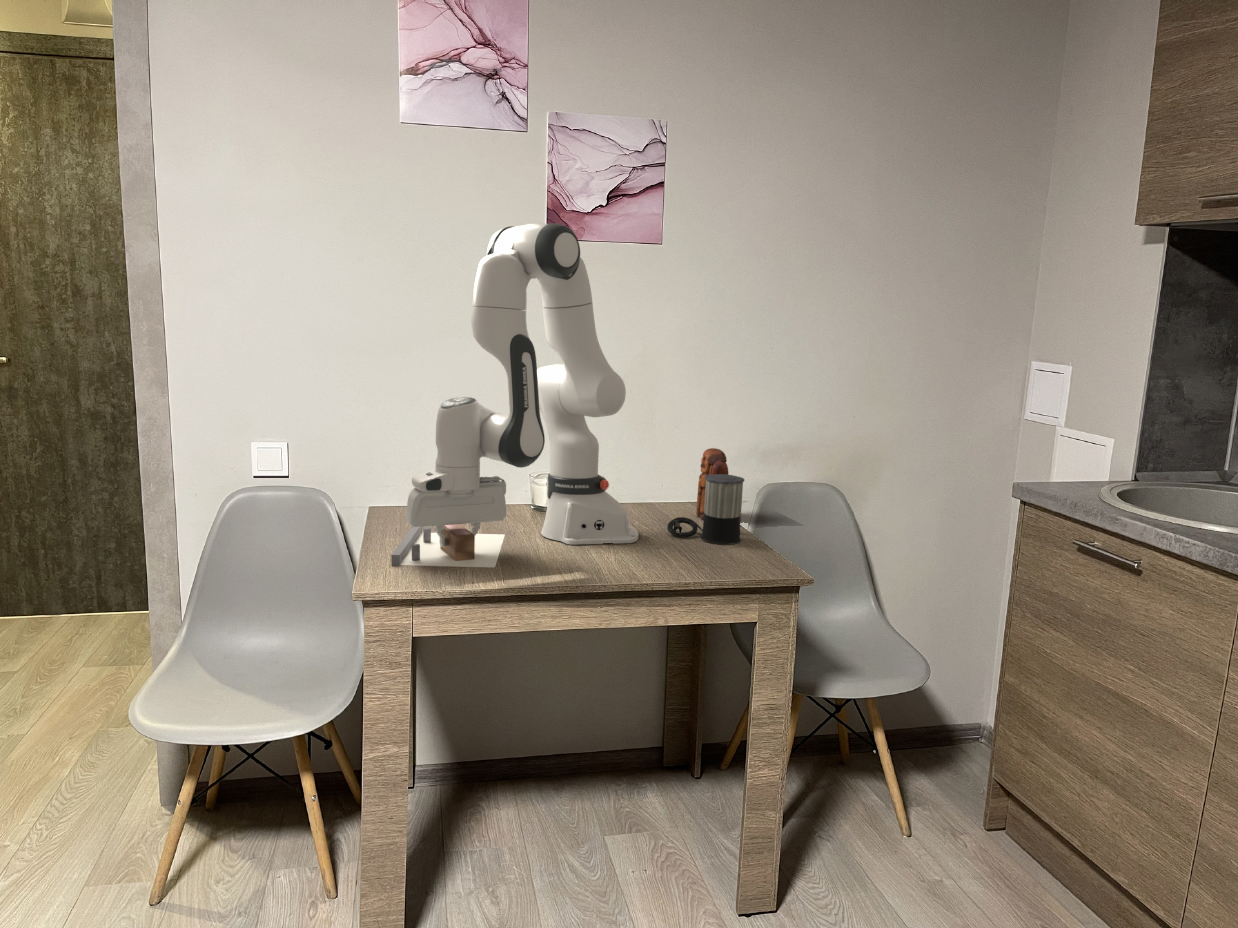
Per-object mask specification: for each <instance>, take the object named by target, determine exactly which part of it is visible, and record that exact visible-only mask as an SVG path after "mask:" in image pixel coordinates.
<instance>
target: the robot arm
mask: <svg viewBox="0 0 1238 928" xmlns="http://www.w3.org/2000/svg"><path fill="white" fill-rule="evenodd" d="M588 274H589V273H588V270H587V267H586V264H585V261H584V260H583V258H582V257H581V247H580V243H579V239H578V237H577V235H576V234H575V232H574V231H573V229H571V228H570V227H568V226H566V225H564V224H561V223H555V222H552V223H539V222H536V223H532V222H531V223H526V224H522V225H517V226H506V227H503V228H501V229H499V230H497V231H496V232H495V233H494V234H492V235H491V237H490V240H489V242H488V245H487V249H486V255H485V256H484V257H483V258H482V259H481V260H480V261H479V263H478V266H477V269H476V275H475V279H474V284H473V292H472V300H471V302H472V303H471V318H470V319H471V320H470V321H471V329H472V335H473V338H474V339H475V341H476V342H477V344H478V345H479V346H480V348H482V349H483V350H485V351H486V352H487V353H488V354H490V355H492V356H493V357H494V358H495V359H497V360H498V362H499V363H500V364H501V365H502V366H503V368H504V370H505V373H506V376H507V387H508V388H507V389H508V405H509V408H508V409H509V414H505V413H501V412H496V411H495V410H491V409H489V408H487V407H485V406H483V405H482V404H480V403H479V402H478V400H477V399H476V398H475V397H470V396H461V397H460V396H459V397H452V398H449V399H447V400H444V401H443V402H442V403H441V404H440V405H439V408H438V410H437V415H436V422H435V445H436V449H437V455H436V456H437V457H436V458H435V468H432V469H430V470H427V471H425V472H422V473H419V474H416V475H414V476H413V477H412V479H411V484H412V486H413V488H412V489H411V491H410V492H409V495H408V497H407V504H406V522H407V523H408V524H409V525H410V526H411V528H412V527H415V528H416V527H422V528H425V527H433V529H434V530H435V533H437V534H438V536H439V537H440V546H441V547H444V546H449V543H448V542H449V538H448V537H447V536H444V535H443V534H442V532H441V531H443V530H444V525H455V524H460V525H465V524H466V525H467V524H470V526H471V527H472V528H471V529H470V530H469V531H470V532H471V533H473V534H474V535H475V536H476V534H478V532H479V530H480V528H481V523H489V522H490V523H491V522H492V523H493V522H502V521H504V520H505V518H506V517H507V503H506V497H505V496H506V492H507V483H506V481H505V479H503V478H502V477H500V476H497V475H495V476H481V462H480V461H481V460H480V459H481V458H487V459H491V460H492V461H499V462H503V463H506V464H508V465H510V466H514V467H516V468H526V467H527V468H528V467H530V465H532V464H534V463H535V462H536V461H537V460H538V459H539V457H540V456H541V454H542V452H543V450H544V448H545V444H546V443H545V441H546V438H545V430H544V426H543V423H542V417H541V414H542V416H543V419H544V422H545V426H546V429H547V433H548V439H549V473H548V475H547V479H546V480H547V481H546V495H547V507H546V511H545V517H544V518H545V519H544V522H543V525H542V529H541V532H540V534H541V535H542V537H545V538H546V539H549V540H553V541H554V540H555V541H557V542H562V543H564V544H567V545H604V544H603V543H613V544H633V543H635V542H638V540H639V539H640V538H639V537H640V536H639V531H638V529H637V528H635V527H633V526H631V525H630V517H629V514H628V511H627V509H626V507H625V506H624V505H623V504H621V503H620V502H619V501H618V500H617V499H615V498H614V497H613V496H612V495H611V494H609V493H608V492H607V490H608V488H609V486H610V483H609V481H608V480H607V478H606V477H604V476H603V475H600V474H599V452H600V451H599V450H600V446H599V445H600V444H599V440H598V439H597V437H596V435H595V434H593V432H591V431H590V429H589V427H588V424H587V422H586V418H585V417H590V418H602V417H608V416H609V417H610V416H614V415H615V414H617V413H619V411H620V410H621V409H622V408H623V406H624V404H625V401H626V397H627V396H626V394H627V391H626V384H625V381H624V380H623V378H622V377H621V376H620V375H619V374H618V373H617V372H616V371H615V370H614V369H613V368H612V366H611V365H610V363H609V362H608V359H606V356H605V354H604V353H603V350H602V347H601V345H600V342H599V339H598V335H597V329H596V323H595V314H594V313H595V311H594V305H593V294H592V289H591V283H590V279H589V275H588ZM532 279H537V280H538V282H539V284H540V288H541V290H540V291H541V294H540V295H541V305H542V314H543V323H544V332H545V333H544V334H545V339H546V342H547V344H548V346H550V348H551V349H553V350H554V351H555V352H556V354H557V355H558V356H559V358H560V361H561V363H562V364H561V363H555V364H549V365H544V366H541V367H538V366H537V355H536V350H535V346H534V343H533V342H532V340H531V339H530V336H529V332H528V324H527V306H528V305H527V302H528V301H527V300H528V299H527V295H528V293H527V288H528V285H529V283H530V281H531V280H532ZM540 413H541V414H540Z"/></svg>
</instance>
